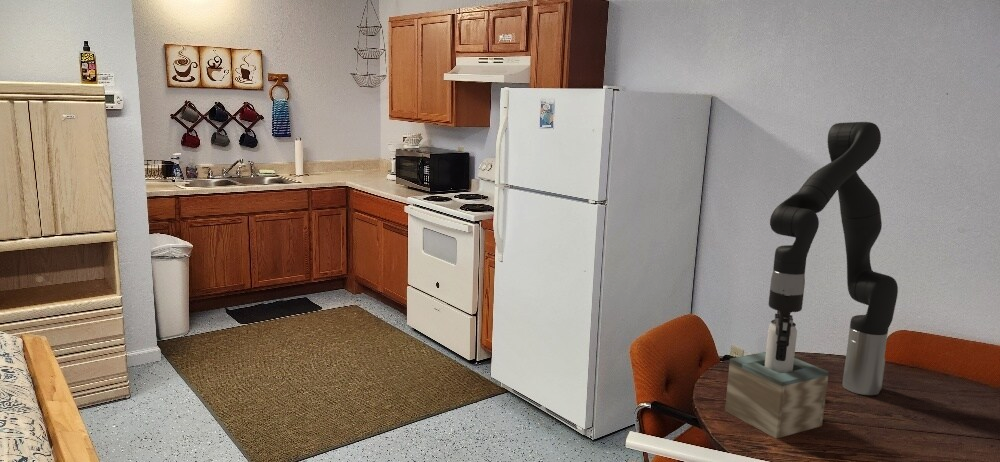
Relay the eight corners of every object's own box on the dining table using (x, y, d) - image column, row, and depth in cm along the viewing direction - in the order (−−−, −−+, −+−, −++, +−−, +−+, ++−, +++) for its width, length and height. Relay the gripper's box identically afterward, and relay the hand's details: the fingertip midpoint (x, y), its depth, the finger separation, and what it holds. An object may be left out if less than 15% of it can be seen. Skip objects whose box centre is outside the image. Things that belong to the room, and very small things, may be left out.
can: (791, 366, 170) (796, 320, 168) (793, 376, 164) (798, 328, 162) (763, 363, 172) (768, 317, 170) (764, 372, 166) (769, 325, 164)
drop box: (769, 400, 181) (775, 349, 179) (822, 425, 167) (828, 371, 165) (724, 410, 174) (730, 358, 172) (775, 438, 160) (782, 382, 158)
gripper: (769, 280, 173) (762, 343, 176) (771, 295, 159) (763, 363, 162) (801, 284, 170) (794, 348, 173) (806, 299, 157) (798, 368, 160)
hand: (779, 355), depth 168 cm, fingers closed on can, 6 cm apart
